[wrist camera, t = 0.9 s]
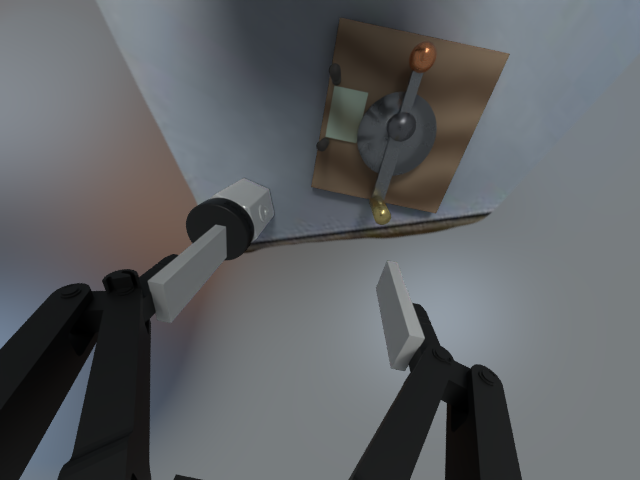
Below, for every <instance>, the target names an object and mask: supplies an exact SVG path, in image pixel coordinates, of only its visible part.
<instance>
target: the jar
mask: <svg viewBox="0 0 640 480" xmlns="http://www.w3.org/2000/svg"><path fill="white" fill-rule="evenodd" d="M273 216H274V209H273V204H272V200H271V195H270V191H269V189H267V188H265V187H263V186H261V185H258V184H256V183H254V182H252V181H249V180H247V179H245V178H242V179H241V180H239V181H237V182H235V183H234V184H232V185H230V186H228V187H226V188H225V189H223V190H221V191H219V192H218V193H216V194H215V195H213V196H212V197H211V198H210V199H209V200H207V201H205V202H203V203H201V204H200V205H198V206H196V207H195V208H193V209H192V210H191V212H190V213H189V214H188V217H187V221H186V229H187V233H188V236H189V238H190V240H191V242H192V243H194V242H195V241H197V240H198V239H199V238H200V237H201V236H203V235H204V234H205V233H206V232H207V231H209V230H210V229H211V228H212V227H214V226H215V225H221V226H225V227H226V248H227V257H226V259H225V260H232V259H235V258H237V257H239V256H240V255H242V254H243V253H244V251H246V250H247V249H248V247H249V246H250V244H251V242H253V241H254V240H256V239H257V238H258V236H259V235H260V234H261V232H262V231H263V230H264V228H265V227H266V226H267V224H268V223H269V222H270V220H271V219H272V217H273Z"/></svg>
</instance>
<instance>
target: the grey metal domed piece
mask: <svg viewBox="0 0 640 480" xmlns="http://www.w3.org/2000/svg"><path fill="white" fill-rule="evenodd" d="M436 56H437V51H436V47H435V45H434V44H433V43H431V42H429V41H424V42H421V43H419V44H418V45H416V46H415V47H414V49H413V50H412V52H411V54H410V57H409V66H410V68H411V70H412V71H411V75H410V78H409V81H408V84H407V88H406V91H405V92H395V93H391V94H388V95H386V96H384V97H382V98H380V99H379V100H377V101H376V102H375V103H374V104H372V105H371V106H370V108H369V109H368V110H367V111H366V113H365V114H364V116H363V118H362V120H361V122H360V125H359V128H358V133H357V145H358V150H359V153H360V155H361V157H362V159H363V161H364V162H365V164H366V165H367V166H368V167H369V168H370V169H371V170H373V171H375V172H377V173H378V175H377V178H376V181H375V184H374V188H373V191H372V194H371V198H370V200H369V203H370V206H371V209H372V213H373V216H374V219H375V221H376V223H378V224H380V225H384V224H387V223H388V222H389V221H390V219H391V214H390V212H389V210H388V208H387V206H386V204H385V202H384V199H385V196H386V193H387V190H388V187H389V184H390V181H391V178H392V176H395V175H401V174H404V173H407V172H409V171H411V170H413V169H414V168H416V167H417V166H418V165H419V164H421V163H422V162H423V160H424V159H425V158H426V157H427V156H428V154H429V152H430V151H431V149H432V147H433V144H434V141H435V138H436V131H437V124H436V117H435V114H434V112H433V110H432V108H431V106H430V105H429V103H428V102H427V101H426V100H425V99H423V98H422V97H421V96H419V95H417V91H418V88H419V85H420V82H421V79H422V76H423V73H424V72H426V71H428V70H429V69H430V68H431V67H432V66H433V64H434V62H435V60H436Z"/></svg>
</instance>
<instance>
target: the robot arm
mask: <svg viewBox="0 0 640 480" xmlns="http://www.w3.org/2000/svg"><path fill="white" fill-rule="evenodd" d="M226 257H227V248H226V227H225V226H221V225H215V226H214V227H212V228H211V229H210V230H209V231H207V232H206V233H205V234H204V235H203V236H201V237H200V238H199V239H198V240H197V241H195V242H194V243H193V244H192V245H191V246H189V247H188V248H187V249H186V250H185V251H184V252H182V253H181V254H180V255H175V254H172V255H170V256H167V257H165V258H164V259H162V260H161V261H160V262H158V264H156V265H155V266H153V268H151V269H149V270H148V271H147V272H146V273H144V274H143V275H142V276H140V277H138V273H137V272H136V271H134V270H130V269H124V270H118V271H115V272H112V273H110V274H108V275H107V276H106V277H104V279H103V280H102V282H103V284H104V287H105V290H106V291H91V289H90V287H89V285H87V284H82V283H81V284H80V283H77V284H71V285H67V286H64V287H62V288H60V289H57V290H56V291H55V292H53V293H52V294H51V295H50V296H49V297H48V298H47V299H46V301H45V302H44V303H43V304H42V305H41V306H40V307H39V308H38V309H37V310H36V311H35V312H34V313H33V315H32V316H31V317H30V318H29V319H28V320H27V321H26V322H25V323H24V324H23V325H22V327H20V329H19V330H18V331H17V332H16V333H15V334H14V335H13V336H12V337H11V338H10V339H9V340H8V341H7V343H6V344H5V345H4V346H3V347H2V348H1V349H0V480H19V479H20V477H21V475H22V473H23V472H24V470H25V468H26V466H27V464H28V463H29V461H30V459H31V457H32V456H33V454H34V452H35V450H36V449H37V447H38V445H39V443H40V441H41V440H42V438H43V436H44V434H45V433H46V431H47V429H48V427H49V426H50V424H51V422H52V420H53V418H54V417H55V415H56V413H57V411H58V409H59V408H60V406H61V404H62V402H63V401H64V399H65V397H66V395H67V394H68V392H69V390H70V388H71V386H72V385H73V383H74V381H75V379H76V378H77V376H78V374H79V372H80V370H81V369H82V367H83V365H84V363H85V362H86V360H87V358H88V356H89V355H90V353H91V351H92V349H93V347H94V345H95V344H96V348H95V352H94V358H93V361H92V366H91V371H90V376H89V380H88V385H87V390H86V394H85V399H84V404H83V408H82V413H81V418H80V422H79V427H78V431H77V436H76V441H75V445H74V450H73V454H72V457H71V459H70V461H68V462H67V463H66V464H65V465H63V467H62V469H61V471H60V473H59V476H58V480H151V473H150V465H149V438H150V437H149V436H150V435H149V434H150V431H149V430H150V347H151V345H150V343H151V322H150V318H151V317H152V316H153V315H154V314H155V313H156V317H157V320H159V321H163V322H168V323H171V322H172V321H173V320H174V319H175V317H176V316H177V315H178V314H179V313H180V312H181V311H182V309H183V308H184V307H185V306H186V305H187V303H188V302H189V301H190V300H191V299H192V298H193V296H194V295H195V294H196V293H197V292H198V290H199V289H200V288H201V287H202V286H203V285H204V283H205V282H206V281H207V280H208V279H209V278H210V276H211V275H212V274H213V273H214V272H215V270H216V269H217V268H218V267H219V266H220V265H221V263H222V262H223V261H224V260H225V259H226ZM376 291H377V296H378V301H379V307H380V312H381V318H382V323H383V329H384V334H385V339H386V345H387V350H388V356H389V361H390V366H391V368H392V369H396V370H401V371H405V370H406V368H407V367H408V365H409V367H410V372H411V373H410V374H409V376H408V377H407V379H406V381H405V382H404V384H403V386H402V388H401V390H400V391H399V393H398V395H397V397H396V398H395V400H394V402H393V403H392V405H391V407H390V409H389V410H388V412H387V414H386V416H385V417H384V419H383V421H382V423H381V424H380V426H379V428H378V429H377V431H376V433H375V435H374V436H373V438H372V440H371V442H370V443H369V445H368V447H367V448H366V450H365V452H364V454H363V456H362V457H361V459H360V461H359V462H358V464H357V466H356V468H355V469H354V471H353V473H352V475H351V476H350V478H349V480H410V478H411V475H412V473H413V470H414V467H415V465H416V462H417V460H418V457H419V454H420V452H421V449H422V446H423V444H424V442H425V439H426V437H427V434H428V431H429V429H430V426H431V424H432V421H433V418H434V416H435V413H436V411H437V408H438V406H439V403H440V400H442V401H444V402H446V403H447V421H446V464H445V480H522V477H521V472H520V468H519V463H518V458H517V453H516V449H515V443H514V438H513V433H512V428H511V423H510V419H509V413H508V409H507V404H506V399H505V394H504V390H503V385H502V383H501V380H500V379H499V378H498V376H497V375H496V374H495V373H494V372H492V371H491V370H490V369H488V368H487V367H485V366H482V365H477V364H476V365H474V366H472V367H471V369H470V368H468V367H466V366H464V365H462V364H460V363H458V362H456V361H454V359H453V357H452V355H451V354H450V353H449V352H448V351H447V350H446V349H445V348H443V347H442V346H440V343H439V341H438V339H437V336H436V334H435V332H434V329H433V327H432V325H431V322H430V320H429V317H428V315H427V313H426V311H425V310H424V308H423V307H422V306H421V305H419V304H414V303H412V301H411V299H410V296H409V293H408V290H407V288H406V285H405V282H404V279H403V277H402V274H401V271H400V269H399V266H398V263H397V262H394V261H389V260H387V262H386V264H385V267H384V269H383V272H382V274H381V277H380V280H379V282H378V285H377V287H376ZM96 342H97V343H96ZM174 480H201V479H195V478H191V477H185V476H181V475H176V476H175V478H174Z"/></svg>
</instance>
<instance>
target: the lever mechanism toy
mask: <svg viewBox="0 0 640 480" xmlns="http://www.w3.org/2000/svg"><path fill="white" fill-rule="evenodd" d="M424 41H429V42H431V43H433V44H434V45H435V47H436V51H437V56H436V60H435V62H434V64H433V66H432V67H431V68H430V69H429V70H428V71H426V72H424V73H423V76H422V79H421V82H420V85H419V88H418V91H417V95H419V96H421V97H422V98H423V99H425V100H426V101H427V102H428V103H429V105H430V106H431V108H432V110H433V112H434V114H435V117H436V124H437V131H436V138H435V141H434V144H433V147H432V149H431V151H430V152H429V154H428V156H427V157H426V158H425V159H424V160H423V162H422V163H421V164H419V165H418V166H417V167H416V168H414V169H413V170H411V171H409V172H407V173H404V174H401V175H395V176H392V178H391V181H390V184H389V187H388V190H387V193H386V196H385V199H384V202H385V203H389V204H394V205H399V206H403V207H408V208H413V209H418V210H423V211H427V212H432V213H436V212H437V210H438V208H439V206H440V204H441V202H442V199H443V197H444V195H445V193H446V191H447V189H448V186H449V184H450V182H451V180H452V178H453V176H454V173H455V171H456V169H457V167H458V165H459V163H460V161H461V158H462V156H463V154H464V152H465V150H466V148H467V145H468V143H469V141H470V139H471V137H472V135H473V133H474V130H475V128H476V126H477V124H478V122H479V120H480V117H481V115H482V113H483V111H484V109H485V107H486V105H487V102H488V100H489V98H490V96H491V94H492V92H493V89H494V87H495V85H496V83H497V81H498V79H499V76H500V74H501V72H502V70H503V68H504V66H505V64H506V61H507V59H508V57H509V55H510V54H508V53H503V52H499V51H494V50H489V49H485V48H480V47H475V46H471V45H466V44H461V43H457V42H452V41H447V40H443V39H438V38H433V37H429V36H424V35H419V34H415V33H410V32H405V31H401V30H396V29H391V28H387V27H382V26H377V25H373V24H368V23H363V22H359V21H354V20H349V19H345V18H340V20H339V26H338V32H337V37H336V43H335V49H334V55H333V61H332V65H331V66H330V68H329V73H330V79H329V85H328V91H327V97H326V103H325V108H324V114H323V120H322V126H321V132H320V138H319V142H318V143H317V149H318V150H317V156H316V162H315V168H314V174H313V180H312V185H311V187H313V188H318V189H323V190H327V191H332V192H337V193H342V194H346V195H351V196H356V197H361V198H365V199H370V198H371V194H372V191H373V188H374V184H375V181H376V178H377V175H378V173H377V172H375V171H373V170H371V169H370V168H369V167H368V166H367V165H366V164H365V162H364V161H363V159H362V157H361V155H360V153H359V150H358V145H357V133H358V128H359V125H360V122H361V120H362V118H363V116H364V114H365V113H366V111H367V110H368V109H369V108H370V106H371V105H372V104H374V103H375V102H376V101H377V100H379V99H380V98H382V97H384V96H386V95H388V94H391V93H395V92H405V91H406V88H407V84H408V81H409V78H410V75H411V71H412V70H411V68H410V66H409V57H410V54H411V52H412V50H413V49H414V47H415V46H416V45H418V44H419V43H421V42H424Z"/></svg>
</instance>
